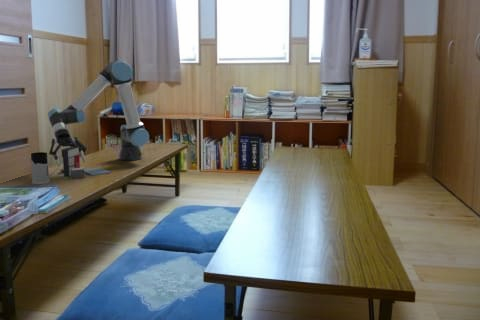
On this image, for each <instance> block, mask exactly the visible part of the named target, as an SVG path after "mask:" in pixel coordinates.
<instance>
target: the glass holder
mask: <svg viewBox="0 0 480 320" xmlns="http://www.w3.org/2000/svg"><path fill="white" fill-rule="evenodd" d="M54 156H57V155H54ZM54 156H53V155H52V156H51V158H50V162H48V152H43V151H42V152H39V151H38V152H32V153H31V154H30V165H31V166H30V167H31V179H32V181H31V184H32V183H33V184H32V185H44V184H45V183H46V184H49V183H51V181H50V178H51V176H52V175H53V174H54V173H55V172H56V171H58V170H59V168H60V166H61V164H60V163H59V165H58V166H57V168H56V169H55V170H54V171H53V172H51V174H50V173H49V165H50V164H52V160H53V158H54ZM58 157H59V160H61V157H60V155H59V156H58Z"/></svg>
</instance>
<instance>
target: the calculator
mask: <svg viewBox="0 0 480 320" xmlns="http://www.w3.org/2000/svg"><path fill="white" fill-rule="evenodd" d="M60 150H61V158H62V166H63V167H62V169H64V173H63V177H64V178H65V177H66V178H69V177H70V178H71V169H72V168H80V167H81V164H80V152H79V148H78V147H70V146H69V147H67V148H62V149H60Z"/></svg>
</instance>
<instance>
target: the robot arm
mask: <svg viewBox="0 0 480 320" xmlns="http://www.w3.org/2000/svg"><path fill="white" fill-rule="evenodd" d="M132 75H133V68H132V66H131V65H130V63H127V62H126V61H123V60H116V61H110V62H108V63H107V64H106V66H105V67H103V69H102V70H101V71H100V72H99V73H98V77H96V78H95V80H93V81H92V82H91V84H89V85H88V86H87V88H86V89H85V90H83V91H82V92H81V94H80V95H78V97H76V98H75V99H74V101H72V103H70V104H69V106H67V107H66V108H65V109H63V110H62V111H61V110H60V109H59V108H52V109H50V110H49V111H48V113H47V117H48V120H49V123H50V125H51V129H52V131H53V133H54V137H55V138H52V139H51V145H50V149H49V153H48V155H49V156H51V155H52V156H54V155H57V156H54V157H53V158H54V160H56V161H57V162H56V163H57V164H58V166H59V163H60V165H61V164H62V161H61V159H60V160H59V157H60V155H59V152H58V151H59V150H61V147H69V148H70V147H78V148H79V156H80V157H81V160H82V163H83V164H85V163H86V160H87V159H86V151H87V147H86V146H85V145H84V144H83V143H82V142H81V141H80V140H79V139H78V137H76V136H75V137H73V138H72V137H71V134H70V132H69V129H68V127H67V125H73V124H80V123H84V122H85V120H86V115H85V111H84V110H85V109H86V108H87V107H88V106H89V105H90V104H91V103H92V102H93V101H94V100H95V99H96V97H98V96H99V94H101V93H102V92H103V91H104V89H105V88H107V87H108V86H111V85H112V84H113V86H114V87H115V88H116V90H117V94H118V97H119V100H120V101H119V102H120V104H121V108H122V111H123V114H124V118H125V122H126V124H123V125H121V126H120V145H121V146H120V150H119V154H118V160H121V161H139V160H142V159H143V154H142V152H141V149H140V147H143V146H145V145H147V143H148V141H149V140H150V134H149V132H148V131H147V130H146V128H145V125H144V124H145V123H143V122H142V121H141V119H140V116H139V115H140V114H139V111H138V107H137V103H136V100H135V96H134V92H133V89H132V84H133V83H132V82H133V78H132ZM56 143H57V144H58V145H57V146H56V148H55V149H54V146H55V144H56ZM58 156H59V157H58Z"/></svg>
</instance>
